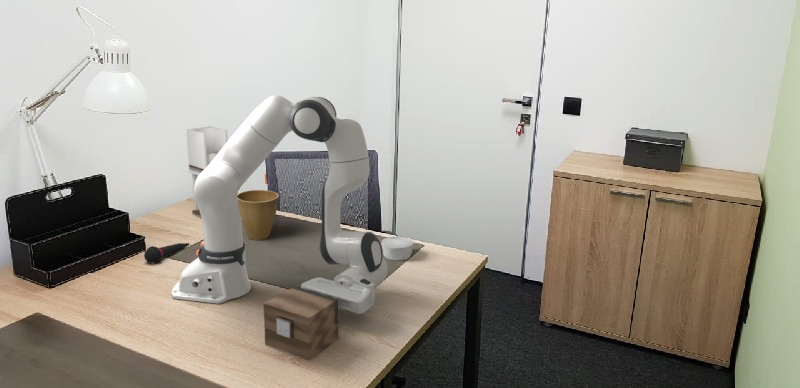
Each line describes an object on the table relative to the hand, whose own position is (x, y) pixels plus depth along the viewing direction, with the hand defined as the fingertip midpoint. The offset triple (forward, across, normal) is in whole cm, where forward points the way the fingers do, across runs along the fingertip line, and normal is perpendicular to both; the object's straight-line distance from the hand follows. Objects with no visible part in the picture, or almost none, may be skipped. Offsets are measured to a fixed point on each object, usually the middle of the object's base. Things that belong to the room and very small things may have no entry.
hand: (318, 306), depth 161 cm
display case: (-52, -93, +7) cm, 106 cm away
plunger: (+7, 0, +2) cm, 7 cm away
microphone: (-14, -73, +8) cm, 75 cm away
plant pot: (-44, -60, +7) cm, 75 cm away
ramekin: (-56, -9, +7) cm, 57 cm away
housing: (+7, 0, +7) cm, 10 cm away
